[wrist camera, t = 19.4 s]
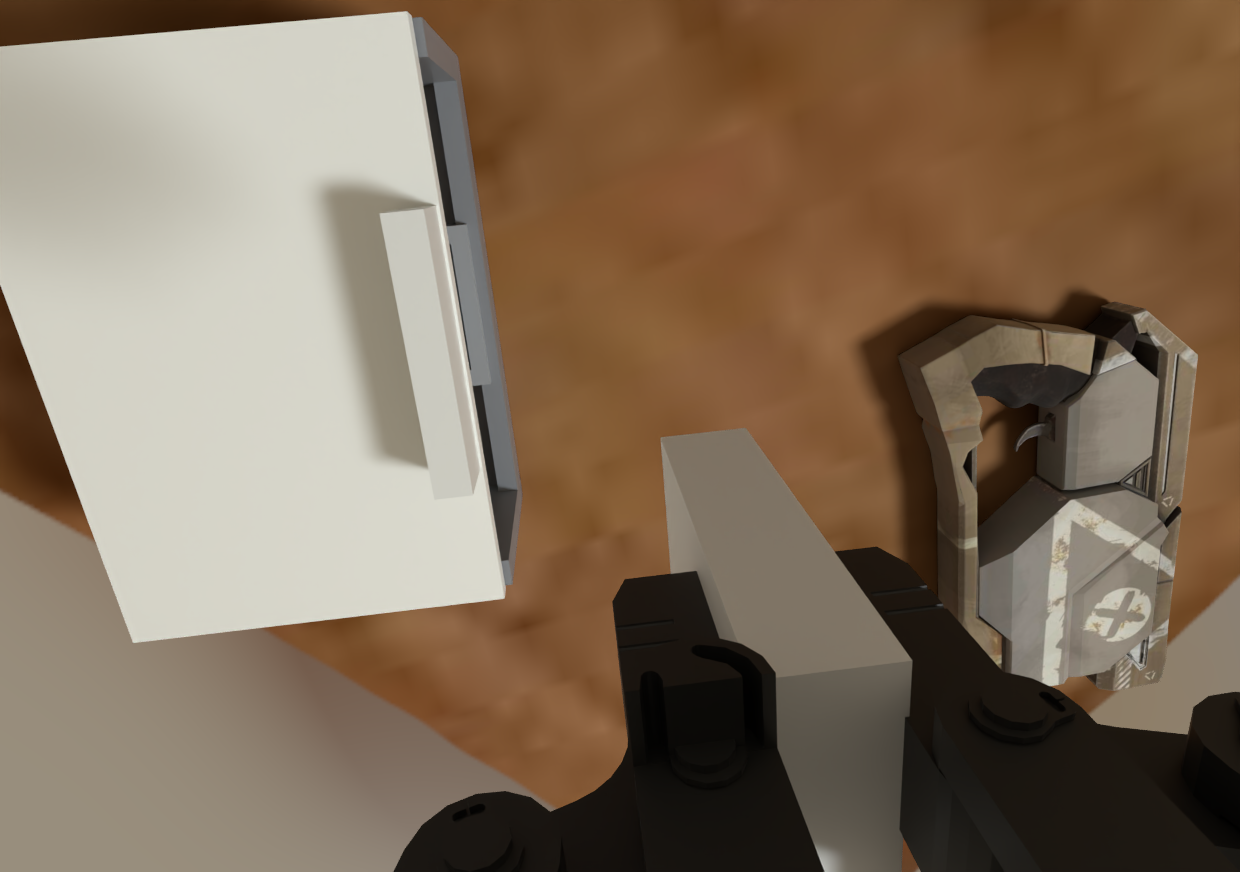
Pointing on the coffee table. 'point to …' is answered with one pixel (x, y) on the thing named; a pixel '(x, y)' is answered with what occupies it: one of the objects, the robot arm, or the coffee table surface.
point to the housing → (472, 281)
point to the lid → (247, 320)
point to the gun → (1062, 490)
